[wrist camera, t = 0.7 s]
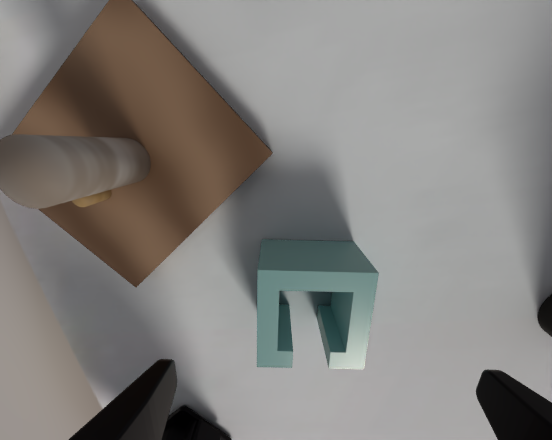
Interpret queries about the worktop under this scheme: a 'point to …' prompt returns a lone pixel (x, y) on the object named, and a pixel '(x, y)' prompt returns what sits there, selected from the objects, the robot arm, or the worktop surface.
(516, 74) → the worktop surface
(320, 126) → the worktop surface
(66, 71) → the board
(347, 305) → the collar
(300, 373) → the worktop surface
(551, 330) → the drinking cup
